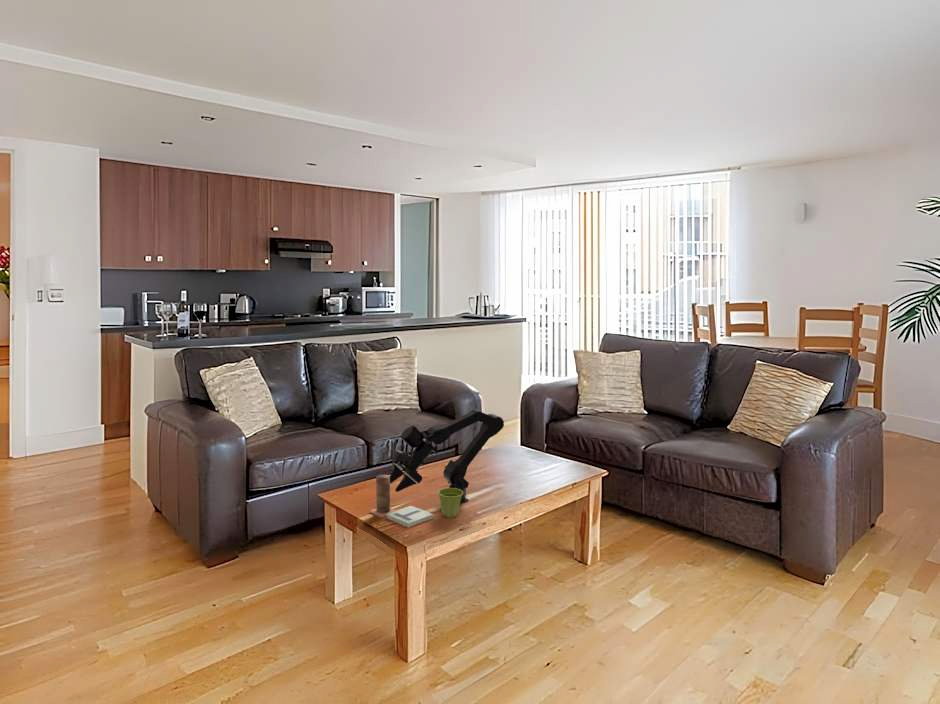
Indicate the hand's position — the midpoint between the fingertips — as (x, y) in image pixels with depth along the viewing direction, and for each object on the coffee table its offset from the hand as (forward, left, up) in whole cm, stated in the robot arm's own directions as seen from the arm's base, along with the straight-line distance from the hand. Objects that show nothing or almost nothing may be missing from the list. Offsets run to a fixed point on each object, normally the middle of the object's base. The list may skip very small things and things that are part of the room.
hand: (391, 487), depth 238 cm
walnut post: (+3, -1, -8) cm, 9 cm away
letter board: (0, +10, -9) cm, 13 cm away
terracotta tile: (+3, -1, -9) cm, 10 cm away
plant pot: (-13, +18, -9) cm, 24 cm away
